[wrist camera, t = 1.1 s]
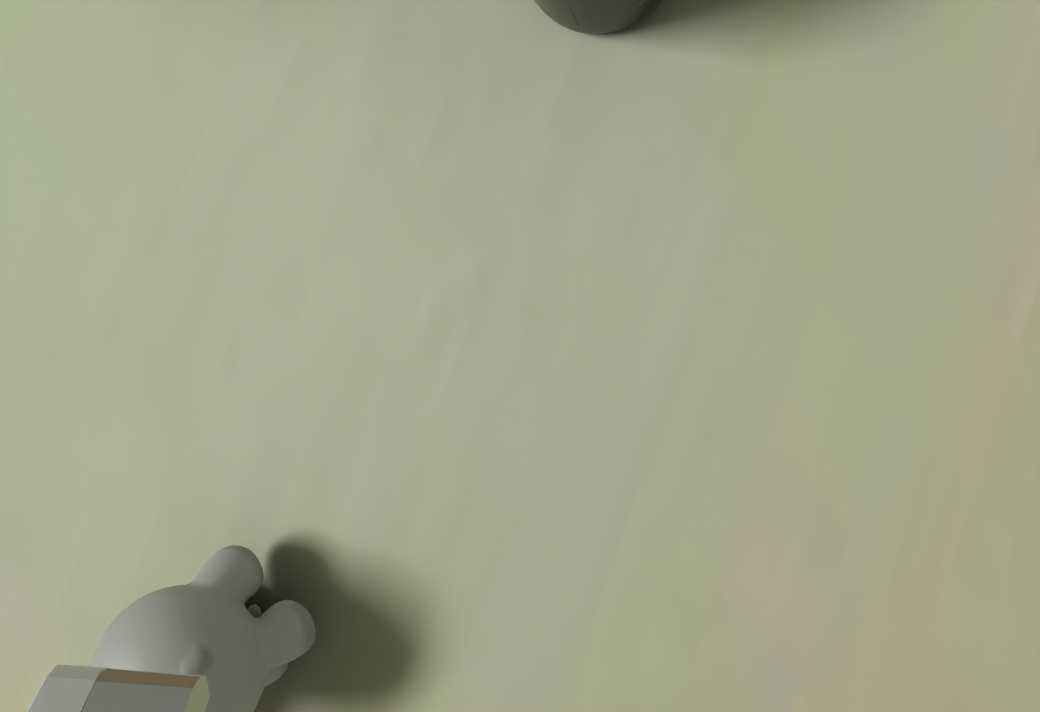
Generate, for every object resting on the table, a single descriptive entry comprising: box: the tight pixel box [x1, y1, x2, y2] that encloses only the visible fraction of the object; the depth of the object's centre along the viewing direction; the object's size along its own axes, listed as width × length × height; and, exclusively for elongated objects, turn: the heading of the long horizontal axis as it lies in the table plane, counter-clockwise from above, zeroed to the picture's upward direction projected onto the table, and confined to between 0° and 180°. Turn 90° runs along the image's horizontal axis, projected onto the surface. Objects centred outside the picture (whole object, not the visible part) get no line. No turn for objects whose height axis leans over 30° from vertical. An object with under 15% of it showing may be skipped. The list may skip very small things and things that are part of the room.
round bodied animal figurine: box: [91, 546, 316, 712], centre depth 40 cm, size 7×12×8 cm, turn 132°
